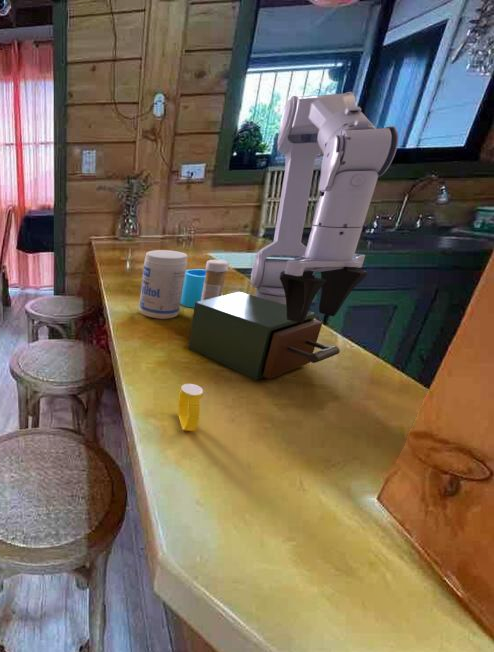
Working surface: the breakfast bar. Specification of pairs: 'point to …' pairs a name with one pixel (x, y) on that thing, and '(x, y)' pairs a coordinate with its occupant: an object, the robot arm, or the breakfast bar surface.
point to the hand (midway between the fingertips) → (311, 317)
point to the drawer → (294, 348)
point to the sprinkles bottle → (214, 279)
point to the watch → (189, 406)
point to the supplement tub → (162, 283)
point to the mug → (193, 287)
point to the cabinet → (237, 330)
